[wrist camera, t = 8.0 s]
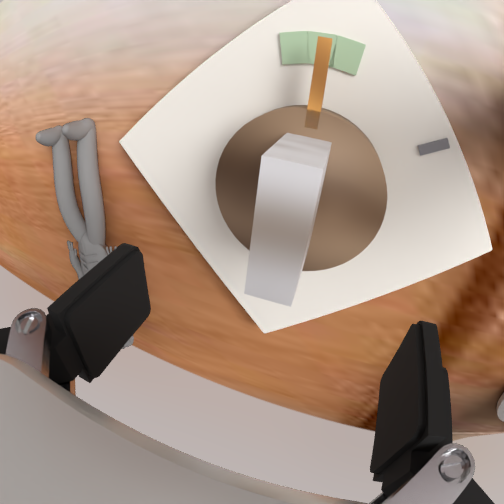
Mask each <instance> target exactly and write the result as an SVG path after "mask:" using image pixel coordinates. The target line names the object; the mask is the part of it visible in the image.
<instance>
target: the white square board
mask: <svg viewBox="0 0 504 504" xmlns="http://www.w3.org/2000/svg"><path fill="white" fill-rule="evenodd" d="M318 36H321V37H327V38H332V39H333V40H332V47H331V54H330V60H329V67H328V73H327V79H326V86H325V92H324V98H323V104H322V108H325V109H328V110H331V111H333V112H335V113H338V114H340V115H342V116H343V117H345V118H347V119H348V120H350V121H351V122H352V123H354V124H355V125H356V126H357V127H358V128H359V129H360V130H361V131H362V132H363V133H364V134H365V135H366V136H367V137H368V139H369V140H370V142H371V143H372V144H373V146H374V148H375V150H376V152H377V154H378V156H379V159H380V161H381V164H382V168H383V171H384V174H385V179H386V184H387V207H386V212H385V216H384V220H383V222H382V225H381V227H380V229H379V231H378V233H377V235H376V236H375V238H374V239H373V240H372V242H371V243H370V244H369V245H368V247H366V248H365V249H364V250H363V251H362V252H361V253H360V254H359V255H357V256H356V257H354V258H353V259H351V260H349V261H348V262H346V263H344V264H341V265H339V266H336V267H333V268H329V269H325V270H318V271H302V273H301V276H300V279H299V283H298V286H297V289H296V292H295V296H294V299H293V302H292V305H291V307H290V306H286V305H282V304H279V303H275V302H271V301H268V300H264V299H261V298H257V297H254V296H250V295H247V294H244V291H245V283H246V275H247V267H248V259H249V250H248V249H247V248H246V247H245V246H244V245H242V244H241V243H240V242H239V240H238V239H237V238H236V237H235V236H234V235H233V233H232V232H231V230H230V229H229V228H228V226H227V224H226V222H225V221H224V219H223V216H222V214H221V211H220V209H219V205H218V202H217V197H216V189H215V178H216V171H217V166H218V163H219V159H220V157H221V154H222V152H223V150H224V148H225V146H226V145H227V143H228V142H229V140H230V139H231V138H232V137H233V135H234V134H235V133H236V132H237V131H238V130H239V129H240V128H242V127H243V126H244V125H245V124H247V123H248V122H250V121H251V120H253V119H254V118H256V117H259V116H261V115H263V114H265V113H267V112H269V111H272V110H274V109H277V108H281V107H285V106H292V105H308V100H309V94H310V87H311V81H312V74H313V68H314V61H315V54H316V47H317V40H318ZM119 142H120V144H121V145H122V147H123V148H124V149H125V151H126V152H127V154H128V155H129V156H130V158H131V159H132V161H133V162H134V163H135V165H136V166H137V168H138V169H139V170H140V172H141V173H142V175H143V176H144V177H145V179H146V180H147V182H148V183H149V184H150V186H151V187H152V189H153V190H154V191H155V193H156V194H157V195H158V197H159V198H160V199H161V201H162V202H163V204H164V205H165V206H166V208H167V209H168V210H169V212H170V213H171V214H172V216H173V217H174V218H175V220H176V221H177V222H178V224H179V225H180V226H181V228H182V229H183V230H184V232H185V233H186V234H187V236H188V237H189V238H190V240H191V241H192V242H193V244H194V245H195V246H196V248H197V249H198V250H199V252H200V253H201V254H202V255H203V257H204V258H205V259H206V261H207V262H208V263H209V265H210V266H211V267H212V268H213V270H214V271H215V272H216V274H217V275H218V276H219V277H220V279H221V280H222V281H223V282H224V284H225V285H226V286H227V288H228V289H229V290H230V291H231V293H232V294H233V295H234V296H235V298H236V299H237V300H238V302H239V303H240V304H241V305H242V307H243V308H244V309H245V310H246V312H247V313H248V314H249V315H250V317H251V318H252V319H253V320H254V321H255V323H256V324H257V325H258V326H259V328H260V329H261V330H262V331H263V333H268V332H271V331H275V330H278V329H282V328H285V327H288V326H292V325H295V324H298V323H302V322H305V321H308V320H311V319H314V318H318V317H321V316H324V315H327V314H330V313H333V312H336V311H339V310H342V309H345V308H348V307H351V306H354V305H357V304H359V303H362V302H365V301H368V300H371V299H374V298H376V297H379V296H382V295H385V294H387V293H390V292H393V291H395V290H398V289H401V288H403V287H406V286H408V285H411V284H414V283H416V282H419V281H421V280H424V279H426V278H429V277H431V276H434V275H436V274H439V273H441V272H443V271H446V270H448V269H451V268H453V267H455V266H458V265H460V264H462V263H464V262H467V261H469V260H471V259H474V258H476V257H478V256H480V255H482V254H485V253H487V252H489V251H491V250H492V246H491V241H490V237H489V233H488V229H487V225H486V222H485V218H484V215H483V211H482V208H481V204H480V201H479V198H478V195H477V192H476V189H475V186H474V183H473V180H472V177H471V174H470V171H469V168H468V166H467V163H466V160H465V158H464V155H463V153H462V150H461V148H460V145H459V143H458V141H457V138H456V136H455V133H454V131H453V129H452V127H451V124H450V122H449V120H448V118H447V116H446V114H445V112H444V109H443V107H442V105H441V103H440V101H439V99H438V97H437V95H436V94H435V92H434V90H433V88H432V86H431V84H430V82H429V80H428V79H427V77H426V75H425V73H424V71H423V70H422V68H421V66H420V65H419V63H418V61H417V59H416V58H415V56H414V55H413V53H412V51H411V50H410V48H409V46H408V45H407V43H406V42H405V40H404V39H403V37H402V36H401V34H400V33H399V31H398V30H397V28H396V27H395V25H394V24H393V23H392V21H391V20H390V18H389V17H388V16H387V14H386V13H385V11H384V10H383V9H382V7H381V6H380V5H379V3H378V2H377V1H376V0H292V1H290V2H288V3H287V4H285V5H283V6H282V7H280V8H279V9H277V10H275V11H274V12H272V13H271V14H269V15H268V16H266V17H265V18H263V19H262V20H260V21H259V22H257V23H256V24H254V25H253V26H251V27H250V28H249V29H247V30H246V31H244V32H243V33H241V34H240V35H239V36H237V37H236V38H235V39H233V40H232V41H231V42H229V43H228V44H227V45H225V46H224V47H223V48H221V49H220V50H219V51H217V52H216V53H215V54H214V55H212V56H211V57H210V58H209V59H207V60H206V61H205V62H204V63H202V64H201V65H200V66H199V67H197V68H196V69H195V70H194V71H193V72H192V73H190V74H189V75H188V76H187V77H186V78H185V79H183V80H182V81H181V82H180V83H179V84H178V85H177V86H175V87H174V88H173V89H172V90H171V91H170V92H169V93H168V94H167V95H165V96H164V97H163V98H162V99H161V100H160V101H159V102H158V103H157V104H156V105H155V106H154V107H153V108H152V109H151V110H150V111H149V112H148V113H147V114H146V115H145V116H143V117H142V118H141V119H140V120H139V121H138V122H137V124H136V125H135V126H134V127H133V128H132V129H131V130H130V131H129V132H128V133H127V134H126V135H125V136H124V137H123V138H122V139H121V140H120V141H119Z"/></svg>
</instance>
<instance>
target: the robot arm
mask: <svg viewBox="0 0 504 504" xmlns="http://www.w3.org/2000/svg"><path fill="white" fill-rule="evenodd" d="M150 309H151V308H150V301H149V295H148V289H147V282H146V276H145V269H144V262H143V255H142V253H141V252H140V250H139V248H138V247H136V246H133V245H129V244H126V243H123V244H121V245H120V246H118V247H117V248H116V249H115V250H114V251H112V252H111V253H110V254H109V255H107V256H106V257H105V258H104V259H103V260H101V261H100V262H99V263H98V264H97V265H96V266H94V267H93V268H92V269H91V270H90V271H88V272H87V273H86V274H85V275H84V276H83V277H82V278H80V279H79V280H78V281H77V282H76V283H75V284H74V285H72V286H71V287H70V288H69V289H68V290H67V291H66V292H65V293H63V294H62V295H61V296H60V297H59V298H58V299H57V300H56V301H55V302H53V304H51V305H50V306H49V307H48V312H49V314H48V315H47V316H46V315H45V313H44V312H43V311H42V310H41V309H37V308H31V309H27V310H24V311H22V312H21V313H19V314H18V315H17V316H16V317H15V319H14V320H13V322H12V325H11V327H8V328H3V329H0V504H367V503H362V502H357V501H350V500H345V499H339V498H333V497H328V496H323V495H318V494H314V493H309V492H305V491H301V490H296V489H292V488H288V487H284V486H280V485H276V484H272V483H269V482H265V481H262V480H259V479H255V478H252V477H249V476H246V475H242V474H239V473H236V472H233V471H230V470H227V469H225V468H222V467H219V466H216V465H214V464H211V463H208V462H206V461H203V460H201V459H198V458H195V457H193V456H190V455H188V454H186V453H183V452H181V451H179V450H176V449H174V448H172V447H169V446H167V445H165V444H163V443H161V442H159V441H156V440H154V439H152V438H150V437H148V436H146V435H144V434H142V433H140V432H138V431H136V430H134V429H132V428H130V427H128V426H127V425H125V424H123V423H121V422H119V421H117V420H115V419H114V418H112V417H110V416H108V415H106V414H105V413H103V412H101V411H100V410H98V409H96V408H94V407H92V406H91V405H89V404H88V403H86V402H84V401H83V400H81V399H80V398H78V397H76V395H75V378H76V377H77V375H79V377H81V378H83V379H84V380H86V381H87V382H89V383H90V382H91V381H92V380H93V379H94V378H96V377H98V376H100V375H101V373H102V372H103V371H104V370H105V368H106V367H107V366H108V365H109V363H110V362H111V361H112V360H113V358H114V357H115V356H116V355H117V353H118V352H119V351H120V350H121V349H122V347H123V346H124V345H125V344H126V342H127V341H128V340H129V339H130V338H131V336H132V335H133V334H134V333H135V332H136V330H137V329H138V328H139V327H140V326H141V324H142V323H143V322H144V321H145V320H146V318H147V317H148V316H149V314H150ZM496 409H497V415H498V418H499V419H500V420H501V421H503V422H504V393H503V394H502V396H501V397H500V399H499V401H498V403H497V408H496ZM474 470H475V462H474V458H473V456H472V454H471V452H470V451H469V450H468V449H467V448H466V447H464V446H463V445H460V444H457V443H454V444H453V443H452V417H451V402H450V390H449V380H448V373H447V370H446V368H443V367H442V359H441V351H440V344H439V337H438V330H437V326H436V324H433V323H429V322H424V321H419V322H418V323H417V324H412V325H411V327H410V329H409V330H408V332H407V334H406V336H405V338H404V340H403V342H402V343H401V345H400V347H399V349H398V350H397V352H396V354H395V356H394V357H393V359H392V361H391V362H390V364H389V366H388V368H387V369H386V371H385V372H384V374H383V376H382V379H381V382H380V392H379V403H378V413H377V422H376V431H375V439H374V446H373V453H372V460H371V466H370V472H371V473H374V477H373V481H378V482H383V483H382V489H381V490H382V491H383V492H382V493H381V494H380V495H378V496H377V497H376V498H375V499H374V500H372V501H371V502H370V503H369V504H494V503H493V502H492V500H491V499H490V498H489V497H488V496H487V495H486V493H485V492H484V491H483V490H482V489H481V488H480V487H479V485H478V484H477V483H476V482H475V481H474V480H473V478H472V477H473V475H474Z"/></svg>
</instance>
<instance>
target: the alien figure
mask: <svg viewBox="0 0 504 504" xmlns="http://www.w3.org/2000/svg"><path fill="white" fill-rule="evenodd" d="M68 139H69V140H78V141H77V167H78V178H79V185H80V192H81V198H82V204H83V210H84V216H85V221H84V219H83V217H82V215H81V213H80V210H79V207H78V205H77V201H76V197H75V192H74V184H73V175H72V165H71V156H70V147H69V140H68ZM36 141H37V142H39V143H40V144H42V145H44V146H52V152H53V169H54V181H55V190H56V196H57V202H58V205H59V209H60V212H61V214H62V217H63V219H64V221H65V223H66V225H67V227H68V229H69V230H70V232H71V233H72V235H73V236H74V238H75V239H76V240H77V241H78V243H79V244H78V246H79V254H80V260H81V262H80V260H79V258H78V256H77V251H76V249H73V242H70V241H67V244H68V248H69V251H70V252H69V255H70V261H71V264H72V266H73V267H74V269H75V270H76V272H77V274H78V278H79V279H80V278H82V277H83V276H84V275H85V274H86V273H87V272H88V271H90V270H91V269H92V268H93V267H94V266H96V265H97V264H98V263H99V262H100V261H101V260H103V259H104V258H105V257H106V256H107V255H109V254H110V253H111V252H112V247H111V246H110V253H109V249H108V247H106V244H105V213H104V204H103V197H102V190H101V183H100V176H99V168H98V158H97V140H96V127H95V122H94V121H93V120H92V119H90V118H84V119H82V120H80V121H73V122H70V123H67V124H65V125H63V127H62V126H56V127H54V128H49V129H45V130H42V131H40V132H38V133H37V134H36ZM116 248H117V247H116V246H115V248H114V250H115V249H116ZM133 341H134V337H133V335H132V336H131V338H130V339H129V340H128V341H127V342H126V344H125V345H124V346H123V347H122V349H124V348H125V347H129V346H131V345H132V344H133Z"/></svg>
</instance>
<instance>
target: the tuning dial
mask: <svg viewBox="0 0 504 504" xmlns="http://www.w3.org/2000/svg"><path fill="white" fill-rule="evenodd" d="M332 40H333V39H332V38H327V37H321V36H318V40H317V47H316V54H315V61H314V68H313V74H312V81H311V87H310V94H309V100H308V105H292V106H285V107H281V108H277V109H274V110H272V111H269V112H267V113H265V114H263V115H261V116H259V117H256V118H254V119H253V120H251V121H250V122H248V123H247V124H245V125H244V126H243V127H242V128H240V129H239V130H238V131H237V132H236V133H235V134H234V135H233V137H232V138H231V139H230V140H229V142H228V143H227V145H226V146H225V148H224V150H223V152H222V154H221V157H220V159H219V163H218V166H217V171H216V178H215V189H216V197H217V202H218V205H219V209H220V211H221V214H222V216H223V219H224V221H225V222H226V224H227V226H228V228H229V229H230V230H231V232H232V233H233V235H234V236H235V237H236V238H237V239H238V240H239V242H240V243H241V244H242V245H244V246H245V247H246V248H247V249H248V250H249V259H248V267H247V275H246V283H245V291H244V294H247V295H250V296H254V297H257V298H261V299H264V300H268V301H271V302H275V303H279V304H282V305H286V306H290V307H291V305H292V302H293V299H294V296H295V292H296V289H297V286H298V283H299V279H300V276H301V273H302V271H318V270H325V269H329V268H333V267H336V266H339V265H341V264H344V263H346V262H348V261H349V260H351V259H353V258H354V257H356V256H357V255H359V254H360V253H361V252H362V251H363V250H364V249H365V248H366V247H368V245H369V244H370V243H371V242H372V240H373V239H374V238H375V236H376V235H377V233H378V231H379V229H380V227H381V225H382V222H383V220H384V216H385V212H386V207H387V184H386V179H385V174H384V171H383V168H382V164H381V161H380V159H379V156H378V154H377V152H376V150H375V148H374V146H373V144H372V143H371V142H370V140H369V139H368V137H367V136H366V135H365V134H364V133H363V132H362V131H361V130H360V129H359V128H358V127H357V126H356V125H355V124H354V123H352V122H351V121H350V120H348V119H347V118H345V117H343V116H342V115H340V114H338V113H335V112H333V111H331V110H328V109H325V108H322V104H323V98H324V92H325V86H326V79H327V73H328V67H329V60H330V54H331V47H332Z"/></svg>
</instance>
